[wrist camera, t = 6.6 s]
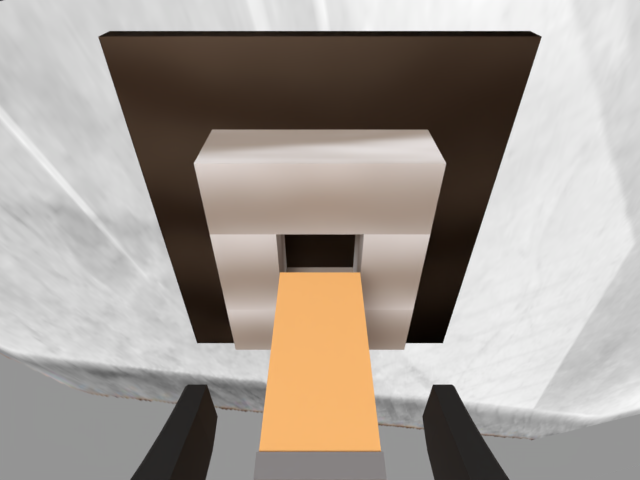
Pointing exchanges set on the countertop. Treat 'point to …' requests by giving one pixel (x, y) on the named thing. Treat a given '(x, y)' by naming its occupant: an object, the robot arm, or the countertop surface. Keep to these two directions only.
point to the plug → (320, 384)
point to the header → (319, 164)
